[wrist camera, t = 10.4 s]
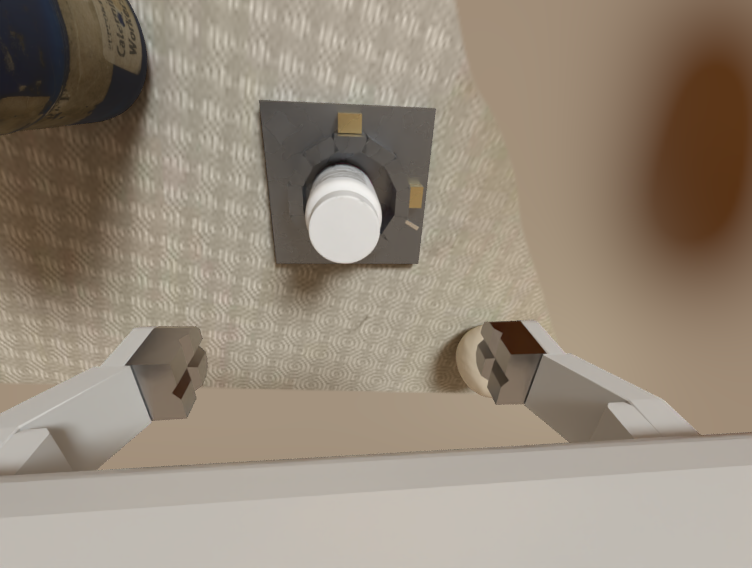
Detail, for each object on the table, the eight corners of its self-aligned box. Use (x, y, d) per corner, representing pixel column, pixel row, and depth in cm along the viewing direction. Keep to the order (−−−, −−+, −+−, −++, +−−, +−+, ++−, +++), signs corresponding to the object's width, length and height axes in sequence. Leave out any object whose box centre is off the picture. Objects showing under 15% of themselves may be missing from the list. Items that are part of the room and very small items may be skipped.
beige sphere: (523, 346, 37) (557, 394, 31) (459, 371, 38) (480, 422, 32) (508, 299, 34) (543, 342, 28) (439, 327, 35) (459, 375, 29)
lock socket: (278, 258, 30) (271, 277, 26) (262, 100, 24) (250, 101, 21) (415, 258, 31) (424, 277, 28) (432, 108, 25) (445, 110, 22)
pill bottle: (371, 225, 28) (382, 272, 20) (311, 221, 27) (300, 269, 20) (377, 163, 25) (391, 192, 18) (311, 158, 25) (299, 185, 18)
